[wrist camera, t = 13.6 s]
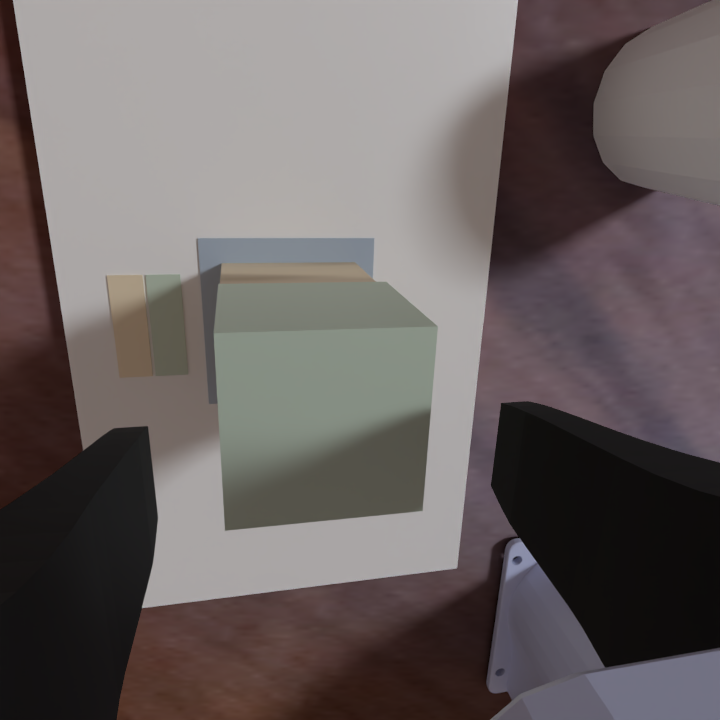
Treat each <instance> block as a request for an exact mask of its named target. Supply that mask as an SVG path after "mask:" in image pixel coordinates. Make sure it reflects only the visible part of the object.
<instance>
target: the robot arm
mask: <svg viewBox="0 0 720 720" xmlns="http://www.w3.org/2000/svg"><path fill="white" fill-rule="evenodd" d="M491 487H492V489H493V491H494V493H495V495H496V497H497V499H498V502H499V504H500V506H501V508H502V510H503V512H504V513H505V515H506V517H507V519H508V521H509V523H510V525H511V526H512V527H513V529H514V530H515V532H516V533H517V535H518V536H519V538H516V539H512V540H511V541H509V542H508V544H507V545H506V548H505V554H504V561H503V568H502V575H501V582H500V589H499V596H498V603H497V610H496V617H495V625H494V632H493V639H492V646H491V653H490V660H489V667H488V674H487V681H486V684H487V687H488V689H489V691H490V692H492V693H501V692H507V691H508V693H509V695H510V697H511V699H512V701H511V702H510V703H509V704H508V705H507V706H506V707H504V708H503V709H502V710H501V711H500V712H499V713H497V714H496V715H495V716H494V717H493V718H492V719H490V720H720V463H719V462H715V461H711V460H707V459H703V458H700V457H696V456H692V455H688V454H685V453H681V452H678V451H675V450H671V449H668V448H665V447H662V446H659V445H656V444H653V443H650V442H647V441H644V440H640V439H638V438H635V437H632V436H629V435H626V434H623V433H620V432H618V431H615V430H612V429H609V428H607V427H604V426H601V425H599V424H596V423H593V422H591V421H588V420H585V419H582V418H580V417H577V416H574V415H572V414H569V413H566V412H563V411H560V410H557V409H554V408H551V407H548V406H545V405H541V404H538V403H533V402H528V401H527V402H511V403H501V410H500V418H499V426H498V434H497V442H496V450H495V458H494V466H493V474H492V482H491ZM157 524H158V512H157V503H156V494H155V485H154V476H153V467H152V458H151V449H150V439H149V430H148V426H140V427H124V428H113V429H112V430H110V431H108V432H107V433H106V434H104V435H103V436H102V437H100V438H99V439H98V440H96V441H95V442H94V443H92V444H91V445H90V446H89V447H87V448H86V449H85V450H84V451H82V452H81V453H80V454H78V455H77V456H76V457H74V458H73V459H72V460H71V461H69V462H68V463H67V464H65V465H64V466H63V467H61V468H60V469H59V470H57V471H56V472H55V473H53V474H52V475H51V476H49V477H48V478H46V479H45V480H43V481H42V482H41V483H39V484H38V485H36V486H35V487H33V488H32V489H30V490H29V491H27V492H26V493H25V494H23V495H22V496H20V497H19V498H17V499H16V500H14V501H13V502H11V503H10V504H8V505H7V506H5V507H4V508H2V509H0V720H116V719H117V712H118V706H119V699H120V694H121V690H122V685H123V680H124V675H125V671H126V667H127V663H128V659H129V655H130V652H131V648H132V644H133V640H134V636H135V632H136V628H137V625H138V621H139V617H140V613H141V609H142V605H143V601H144V597H145V593H146V590H147V586H148V582H149V578H150V574H151V569H152V565H153V559H154V551H155V543H156V533H157ZM516 556H518V557H517V558H516V559H513V558H514V557H516Z"/></svg>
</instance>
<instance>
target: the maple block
mask: <svg viewBox="0 0 720 720" xmlns="http://www.w3.org/2000/svg"><path fill="white" fill-rule="evenodd" d="M319 282H376V281H375V280H374V279H373V278H371V277H370V276H369V275H368V274H367V273H366V272H365V271H364V270H363V269H362V268H361V267H360V266H359V265H357V264H356V263H355V262H313V263H222V265H221V276H220V284H241V283H319Z"/></svg>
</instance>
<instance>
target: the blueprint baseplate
mask: <svg viewBox="0 0 720 720" xmlns="http://www.w3.org/2000/svg"><path fill="white" fill-rule="evenodd" d="M13 4H14V11H15V17H16V24H17V30H18V36H19V43H20V49H21V56H22V62H23V68H24V75H25V81H26V88H27V94H28V100H29V107H30V113H31V120H32V126H33V132H34V139H35V145H36V152H37V158H38V164H39V171H40V177H41V184H42V190H43V196H44V203H45V209H46V216H47V222H48V228H49V235H50V241H51V248H52V254H53V261H54V267H55V273H56V280H57V286H58V293H59V299H60V305H61V312H62V318H63V325H64V331H65V337H66V344H67V350H68V357H69V363H70V369H71V376H72V382H73V389H74V395H75V401H76V408H77V414H78V421H79V427H80V433H81V440H82V446H83V451H84V450H85V449H86V448H87V447H89V446H90V445H91V444H92V443H94V442H95V441H96V440H98V439H99V438H100V437H102V436H103V435H104V434H106V433H107V432H108V431H110V430H112V429H113V428H124V427H140V426H148V430H149V439H150V449H151V458H152V467H153V476H154V485H155V494H156V503H157V512H158V524H157V533H156V543H155V551H154V559H153V565H152V569H151V574H150V578H149V582H148V586H147V590H146V593H145V597H144V601H143V605H142V608H146V607H154V606H162V605H170V604H178V603H186V602H194V601H202V600H210V599H218V598H226V597H234V596H241V595H249V594H257V593H265V592H273V591H281V590H289V589H297V588H305V587H313V586H321V585H329V584H336V583H344V582H352V581H360V580H368V579H376V578H384V577H392V576H400V575H408V574H416V573H424V572H432V571H439V570H447V569H455V568H457V564H458V554H459V545H460V536H461V526H462V517H463V508H464V498H465V489H466V480H467V470H468V461H469V452H470V442H471V433H472V424H473V415H474V405H475V396H476V387H477V377H478V368H479V359H480V349H481V340H482V331H483V321H484V312H485V303H486V293H487V284H488V275H489V266H490V256H491V247H492V238H493V228H494V219H495V210H496V200H497V191H498V182H499V172H500V163H501V154H502V144H503V135H504V126H505V117H506V107H507V98H508V89H509V79H510V70H511V61H512V51H513V42H514V33H515V23H516V14H517V5H518V0H13ZM313 262H355V263H356V264H357V265H359V266H360V267H361V268H362V269H363V270H364V271H365V272H366V273H367V274H368V275H369V276H370V277H371V278H373V279H374V280H375V281H376V282H387V283H388V284H389V285H391V286H392V287H393V288H394V289H395V290H396V291H398V292H399V293H400V294H401V295H402V296H403V297H404V298H406V299H407V300H408V301H409V302H410V303H411V304H413V305H414V306H415V307H416V308H417V309H418V310H419V311H421V312H422V313H423V314H424V315H425V316H426V317H428V318H429V319H430V320H431V321H432V322H433V323H435V324H436V325H437V326H438V332H437V344H436V356H435V368H434V380H433V392H432V404H431V416H430V428H429V440H428V452H427V464H426V476H425V488H424V500H423V511H419V512H409V513H399V514H389V515H379V516H369V517H359V518H349V519H338V520H328V521H318V522H308V523H298V524H288V525H278V526H268V527H258V528H248V529H238V530H228V531H225V522H224V505H223V488H222V470H221V453H220V436H219V419H218V401H217V384H216V367H215V350H214V324H215V313H216V303H217V293H218V284H220V276H221V265H222V263H313Z"/></svg>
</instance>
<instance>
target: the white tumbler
mask: <svg viewBox="0 0 720 720" xmlns="http://www.w3.org/2000/svg"><path fill="white" fill-rule="evenodd" d="M593 137H594V140H595V142H596V145H597V148H598V151H599V153H600V156H601V159H602V162H603V163H604V164H605V165H606V166H607V167H608V168H609V169H610V170H611V171H612V172H613V173H614V174H615V175H616V176H617V177H618V178H619V179H620V180H621V181H624V182H627V183H630V184H634V185H637V186H640V187H643V188H648V189H652V190H656V191H660V192H664V193H668V194H672V195H676V196H681V197H685V198H689V199H693V200H697V201H701V202H705V203H709V204H714V205H718V206H720V0H712V1H709V2H707V3H705V4H703V5H700V6H698V7H696V8H694V9H691V10H689V11H687V12H685V13H682V14H680V15H678V16H676V17H673V18H671V19H669V20H666V21H664V22H662V23H660V24H657V25H655V26H653V27H651V28H649V29H648V30H646V31H645V32H643V33H641V34H640V35H638V36H637V37H635V38H634V39H632V40H631V41H629V42H627V43H626V44H625V45H624V46H623V47H622V49H621V50H620V51H619V53H618V54H617V55H616V57H615V58H614V59H613V61H612V62H611V63H610V65H609V66H608V67H607V69H606V70H605V71H604V74H603V77H602V80H601V83H600V86H599V89H598V92H597V95H596V98H595V101H594V105H593Z"/></svg>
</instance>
